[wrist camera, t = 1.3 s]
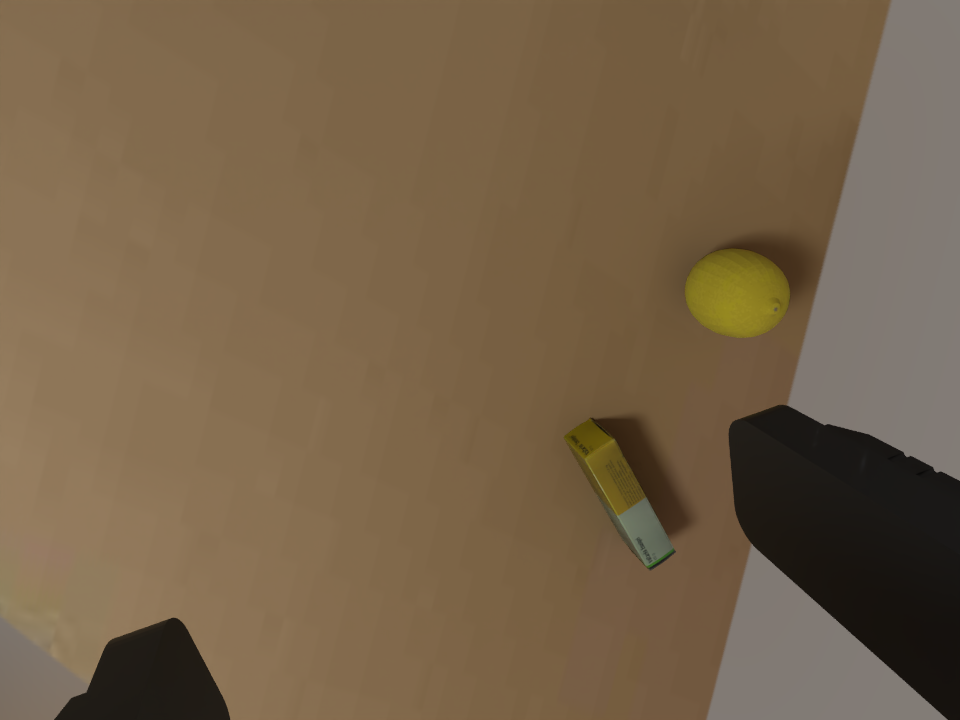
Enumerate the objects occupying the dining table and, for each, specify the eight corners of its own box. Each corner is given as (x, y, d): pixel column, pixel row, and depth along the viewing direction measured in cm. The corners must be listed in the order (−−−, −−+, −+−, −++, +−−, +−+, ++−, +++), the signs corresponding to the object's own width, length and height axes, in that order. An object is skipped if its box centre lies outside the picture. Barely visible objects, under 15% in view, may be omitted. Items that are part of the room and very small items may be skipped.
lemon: (648, 287, 43) (716, 319, 36) (702, 223, 42) (782, 242, 35) (697, 332, 45) (770, 370, 38) (749, 271, 45) (833, 299, 37)
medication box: (651, 524, 51) (678, 554, 47) (624, 543, 51) (649, 574, 47) (591, 414, 46) (616, 438, 42) (560, 435, 46) (582, 460, 42)
